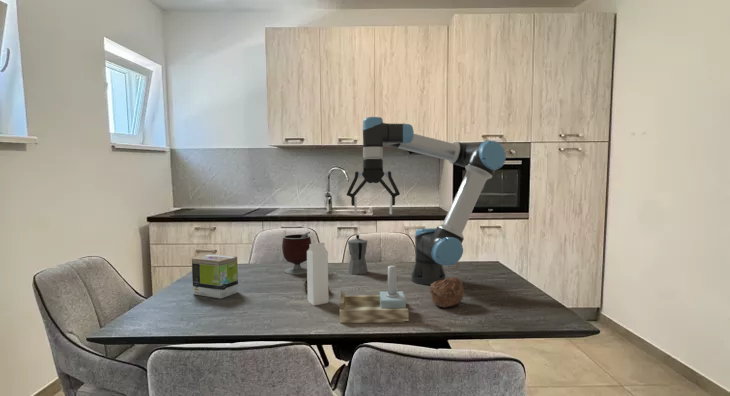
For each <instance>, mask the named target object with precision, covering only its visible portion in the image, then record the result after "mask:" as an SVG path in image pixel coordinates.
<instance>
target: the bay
mask: <svg viewBox="0 0 730 396" xmlns="http://www.w3.org/2000/svg"><path fill="white" fill-rule="evenodd" d="M345 292H346V291H345V290H342V291H340V298H339V324H344V323H345V324H350V323H351V324H353V323H354V324H355V323H356V324H357V323H360V324H361V323H363V324H364V323H367V324H368V323H405V322H404V321H410V320H409V317H410V315H409V308H408V307H406V308H400V309H380V295H379V294H369V295H366V294H365V295H346V293H345ZM402 321H403V322H402Z"/></svg>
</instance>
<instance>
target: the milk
mask: <svg viewBox="0 0 730 396" xmlns="http://www.w3.org/2000/svg"><path fill="white" fill-rule="evenodd" d="M328 257H329V252H328V250H327V249H326V243H325V242H317V243H316V242H315V243H311V244H310V245H309V249H308V250H307V261H306V267H307V273H306V280H307V291H308V292H307V301H308V302H309V303H310V304H311V305H312V306H319V305H325V304H328V303H329V294H328V285H329V258H328Z"/></svg>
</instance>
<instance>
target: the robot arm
mask: <svg viewBox="0 0 730 396" xmlns="http://www.w3.org/2000/svg"><path fill="white" fill-rule="evenodd" d="M414 132H415V131H414V128H413V125H412V124H410V123H404V122H403V123H385V122H384V121H383V118H382V117H379V116H368V117H365V118H364V119H363V121H362V145H363V146H362V157H363V161H362V171H357V170H356V171H355V172H354V178H353V180H352V182H351V184H350V186H349V188H348V190H347V192H346V196H348V197H350V198H351V199H350V200H351V207H352V206H353V207H354V215H357V213H358V212H357V211H358V210H357V197H356V196H357V194H359V192H360V190H361V189H362V188H363V187H364V186H365V185H366V183H368V184H373V183H374V184H378V183H380V184H381V185H382V186H383V188H384V189H385V190H386V191H387V193H388V194H389V195H390V196H389V215H393V206H395V205H396V197H397V196H400V195H401V193H400V191H399V189H398V186H397V184H396V183H395V181H394V179H393V176H392V171H390V170H389V171H384V163H383V162H384V161H383V157H384V154H383V153H384V152H383V150H384V148H383V147H391V148H397V149H400V150H404V151H409V152H412V153H416V154H420V155H425V156H429V157H432V158H437V159H442V160H446V161H448V162H449V163H450V164H452V165H456V166H459V167H462V168H465V170H466V172H465V174H464V176H463V179H462V181H461V183H460V186H459V187H458V191H457V192H456V193H455V196H454V198H453V201H452V203H451V204H450V208H449V209H448V211H447V214H446V216H445V218H444V220H443V222H442V224H439V225H437V226H436V228H435V227H433V228H432V227H431V228H430V227H429V228H417V229H416V230H415V234H414V239H415V240H414V243H415V245H414V252H415V253H414V256H415V258H414V260H415V261H414V262H415V263H414V265H413V268H412V271H411V274H410V276H411V277H410V279H411V281H412V282H413V283H416V284H420V285H427V286H428V285H430V286H431V284H433V283H434V282H436V281H439V280H444V279H447V275H446V271H445V269H444V266H445V267H446V266H447V267H449V266H452V265H454V264H457V263H458V262H459V261H460V260H461V258H462V257H463V255H464V254H463V253H464V248H463V244H462V243H463V242H464V239H465V237H464V234H463V232H464V230H465V227H466V225H467V223H468V222H469V219H470V217H471V214H472V212H473V210H474V209H475V208H474V207H475V206H476V203H477V201H478V200H479V197H480V195H481V193H482V191H483V188H484V186H485V184H486V182H487V181H488V180H490V179H492V178H493V176H494V174H495V172H496V170H499V169H501V168H502V167H503V166H504V164H505V162H506V158H507V157H506V156H507V155H506V152H505V148H504V147H503V145H502V144H501V143H500V142H498V141H495V140H484V141H478V142H477V141H476V142H470V143H469V142H468V143H467V142H466V143H465V142H464V143H463V142H458V141H455V142H450V141H449V142H448V141H445V140H441V139H436V138H432V137H429V136H425V135H420V134H417V133H414ZM361 176H362V177H363V180H362V182H361V183H360V184H359V185H358V186H357V187H356V189H355V190H354V191H353V189H354V187H355V185H356V183H357V181H358V178H360V177H361ZM384 176H385V178H388V180H389V183H390V185H391V186H392V188H393V190H391V188H390V187H389V186H388V184H387V183H385V181H384V180H383V177H384ZM393 191H394V192H393Z"/></svg>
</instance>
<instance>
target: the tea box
mask: <svg viewBox="0 0 730 396" xmlns="http://www.w3.org/2000/svg"><path fill="white" fill-rule="evenodd" d="M191 271H192V273H191V274H192V294H193V295H197V296H203V297H208V298H215V299H224V298H227V297H229V296H232V295H234V294H237V293H238V292H239V279H238V278H239V273H238V256H234V255H224V254H223V255H222V254H212V253H211V254H206V255H202V256H201V255H200V256H197V257H193V258H191Z"/></svg>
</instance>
